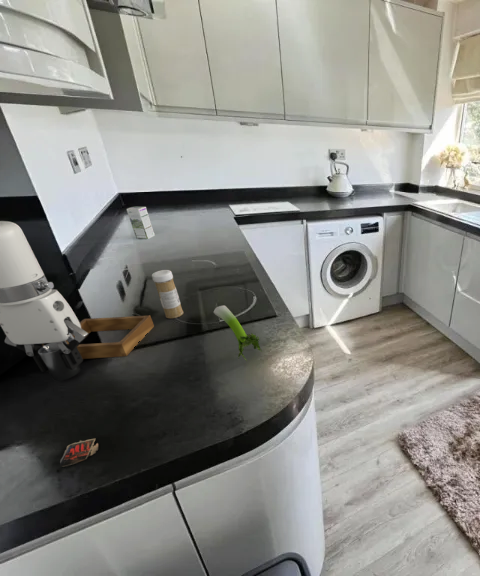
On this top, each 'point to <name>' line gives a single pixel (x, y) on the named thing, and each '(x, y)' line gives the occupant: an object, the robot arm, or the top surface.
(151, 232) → the syrup box
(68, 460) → the matchbox
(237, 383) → the top surface
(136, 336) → the wooden frame
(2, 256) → the robot arm
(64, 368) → the gray metal cup
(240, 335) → the celery stalk
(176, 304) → the sprinkles bottle
